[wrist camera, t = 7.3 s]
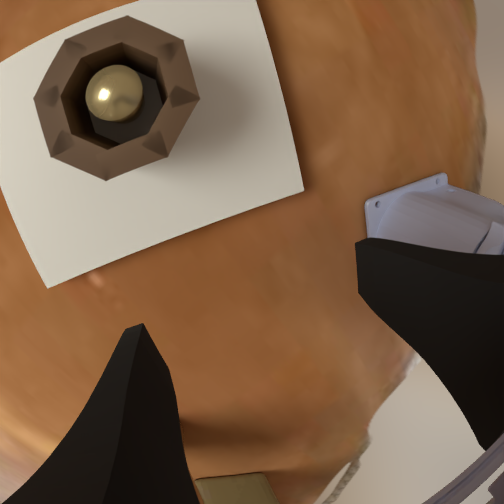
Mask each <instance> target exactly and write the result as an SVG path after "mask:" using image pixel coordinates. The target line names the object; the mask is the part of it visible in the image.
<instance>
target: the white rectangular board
mask: <svg viewBox="0 0 504 504" xmlns="http://www.w3.org/2000/svg"><path fill="white" fill-rule="evenodd" d="M126 15H129V16H130V17H132V18H135V19H137V20H140V21H142V22H145V23H147V24H149V25H152V26H154V27H156V28H159V29H161V30H163V31H165V32H167V33H170V34H172V35H174V36H176V37H178V38H180V39H183V40H184V44H185V48H186V51H187V55H188V58H189V62H190V65H191V69H192V72H193V76H194V79H195V83H196V86H197V90H198V93H199V97H200V100H199V101H198V103H197V105H196V106H195V108H194V110H193V111H192V113H191V115H190V117H189V118H188V120H187V122H186V124H185V126H184V127H183V129H182V131H181V133H180V135H179V137H178V138H177V140H176V142H175V144H174V146H173V148H172V150H171V152H170V154H169V155H168V156H169V157H167V158H163V159H161V160H158V161H155V162H153V163H150V164H147V165H145V166H142V167H139V168H137V169H134V170H132V171H129V172H127V173H124V174H122V175H119V176H117V177H114V178H112V179H110V180H108V181H105V180H103V179H100V178H98V177H96V176H93V175H91V174H89V173H87V172H84V171H82V170H80V169H77V168H75V167H73V166H70V165H68V164H66V163H64V162H61V161H59V160H57V159H54V158H51V157H50V154H49V151H48V148H47V144H46V141H45V138H44V135H43V131H42V128H41V125H40V121H39V118H38V114H37V110H36V106H35V103H34V100H33V97H34V96H35V94H36V92H37V90H38V88H39V86H40V84H41V82H42V80H43V78H44V76H45V74H46V72H47V70H48V68H49V66H50V65H51V63H52V61H53V59H54V57H55V56H56V54H57V52H58V51H59V49H60V47H61V45H62V44H63V42H64V40H65V39H68V38H70V37H72V36H74V35H77V34H79V33H81V32H84V31H86V30H89V29H91V28H94V27H96V26H99V25H101V24H104V23H107V22H110V21H112V20H115V19H118V18H121V17H124V16H126ZM135 72H136V73H137V74H138V76H139V78H140V80H141V83H142V88H143V93H144V98H145V106H144V110H143V112H142V113H141V115H140V116H139V117H138V118H137V119H136V120H134V121H132V122H130V123H126V124H120V123H116V122H111V121H107V120H103V119H100V118H98V117H96V116H95V115H94V114H93V113H92V112H91V111H90V110H89V108H88V110H89V114H90V117H91V120H92V124H93V127H94V130H95V133H97V134H100V135H102V136H104V137H106V138H109V139H111V140H113V141H115V142H118V143H120V144H122V143H124V142H127V141H130V140H132V139H135V138H137V137H140V136H143V135H145V134H148V133H149V131H150V129H151V127H152V125H153V124H154V122H155V120H156V118H157V116H158V114H159V113H160V111H161V109H162V107H163V105H162V101H161V98H160V94H159V91H158V87H157V84H156V80H154V79H152V78H150V77H148V76H146V75H143V74H141V73H139V72H137V71H135ZM87 107H88V106H87ZM0 186H1V189H2V192H3V194H4V197H5V200H6V202H7V205H8V207H9V210H10V212H11V215H12V217H13V219H14V222H15V224H16V226H17V229H18V231H19V233H20V235H21V238H22V240H23V242H24V244H25V246H26V248H27V250H28V252H29V254H30V256H31V258H32V260H33V262H34V264H35V266H36V268H37V270H38V272H39V274H40V276H41V278H42V280H43V281H44V283H45V285H46V287H47V289H48V288H50V287H52V286H55V285H57V284H59V283H62V282H64V281H66V280H69V279H71V278H73V277H76V276H78V275H81V274H83V273H85V272H88V271H90V270H93V269H95V268H97V267H100V266H102V265H105V264H107V263H110V262H112V261H115V260H117V259H120V258H122V257H125V256H127V255H130V254H132V253H135V252H137V251H140V250H142V249H145V248H147V247H150V246H153V245H155V244H158V243H160V242H163V241H165V240H168V239H171V238H173V237H176V236H179V235H181V234H184V233H187V232H189V231H192V230H195V229H197V228H200V227H203V226H205V225H208V224H211V223H214V222H216V221H219V220H222V219H225V218H227V217H230V216H233V215H236V214H239V213H241V212H244V211H247V210H250V209H253V208H256V207H258V206H261V205H264V204H267V203H270V202H273V201H276V200H279V199H282V198H285V197H288V196H291V195H294V194H296V193H299V192H302V191H304V187H303V182H302V177H301V172H300V168H299V163H298V158H297V154H296V149H295V145H294V140H293V136H292V132H291V127H290V123H289V119H288V115H287V111H286V106H285V102H284V98H283V94H282V91H281V87H280V83H279V79H278V75H277V71H276V68H275V64H274V60H273V57H272V53H271V49H270V46H269V42H268V39H267V35H266V32H265V29H264V25H263V22H262V19H261V15H260V12H259V9H258V6H257V2H256V0H140V1H136V2H133V3H130V4H127V5H123V6H120V7H117V8H114V9H111V10H109V11H106V12H103V13H100V14H98V15H95V16H92V17H90V18H87V19H85V20H82V21H80V22H78V23H75V24H73V25H71V26H68V27H66V28H64V29H62V30H60V31H57V32H55V33H53V34H51V35H49V36H47V37H45V38H43V39H41V40H39V41H37V42H35V43H34V44H32V45H30V46H28V47H26V48H24V49H23V50H21V51H19V52H17V53H16V54H14V55H12V56H11V57H9V58H7V59H6V60H4V61H3V62H1V63H0Z"/></svg>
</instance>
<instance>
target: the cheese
mask: <svg viewBox="0 0 504 504" xmlns="http://www.w3.org/2000/svg"><path fill="white" fill-rule="evenodd" d="M195 483H196V485H197V487H198V489H199V491H200V493H201V495H202V497H203V499H204V501H205V503H206V504H280V503H279V501H278V499H277V498H276V496H275V494H274V492H273V490H272V488H271V486H270V484H269V482H268V480H267V478H266V476H265V475H264V474H262V473H251V474H243V475H235V476H225V477H214V478H204V479H198V480H195Z"/></svg>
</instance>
